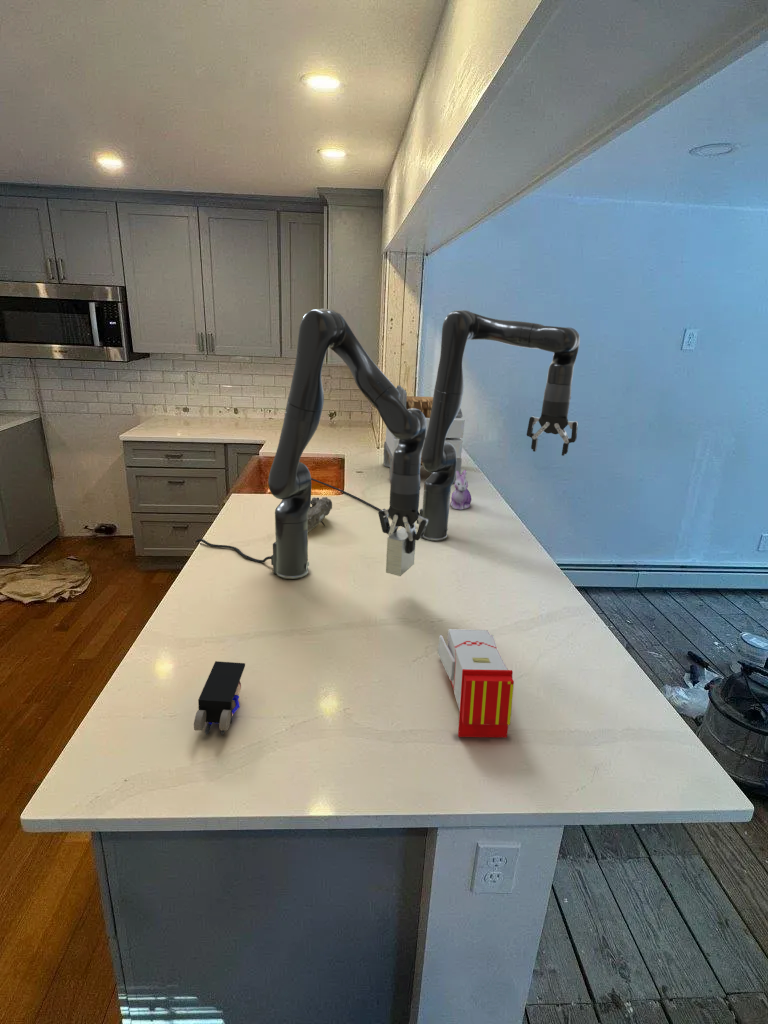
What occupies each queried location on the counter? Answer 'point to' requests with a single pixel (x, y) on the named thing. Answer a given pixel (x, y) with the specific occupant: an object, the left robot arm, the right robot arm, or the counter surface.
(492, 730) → the toy
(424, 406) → the grey slatted box
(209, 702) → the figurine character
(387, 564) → the block
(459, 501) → the figurine
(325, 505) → the fossil
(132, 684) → the counter surface
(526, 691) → the counter surface
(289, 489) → the left robot arm
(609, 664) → the counter surface
